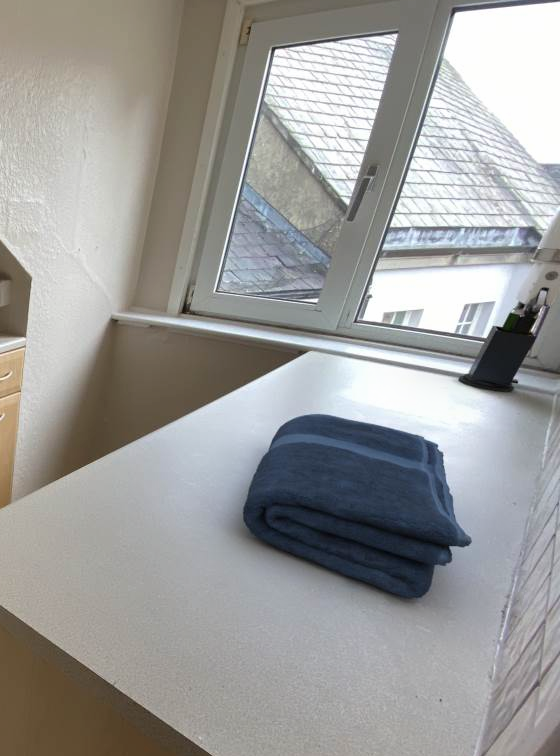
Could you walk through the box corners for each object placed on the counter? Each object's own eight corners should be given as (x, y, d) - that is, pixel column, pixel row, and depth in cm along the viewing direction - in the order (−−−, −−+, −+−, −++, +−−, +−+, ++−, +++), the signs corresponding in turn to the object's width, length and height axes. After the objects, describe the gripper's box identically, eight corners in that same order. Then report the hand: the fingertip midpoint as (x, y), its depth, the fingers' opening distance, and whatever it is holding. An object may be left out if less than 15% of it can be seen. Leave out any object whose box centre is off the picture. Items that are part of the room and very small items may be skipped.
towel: (427, 483, 96) (455, 429, 91) (440, 615, 65) (484, 545, 61) (273, 441, 109) (291, 393, 104) (225, 536, 78) (248, 474, 74)
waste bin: (462, 373, 154) (487, 324, 147) (512, 382, 148) (540, 331, 142) (464, 381, 147) (491, 330, 141) (516, 391, 141) (547, 338, 135)
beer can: (482, 352, 147) (505, 307, 141) (503, 353, 146) (527, 308, 141) (501, 358, 142) (525, 311, 136) (522, 359, 142) (547, 312, 136)
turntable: (507, 384, 149) (508, 381, 149) (517, 395, 141) (519, 392, 141) (455, 375, 155) (456, 372, 154) (461, 385, 147) (463, 382, 146)
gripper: (589, 262, 125) (545, 340, 133) (565, 255, 138) (526, 327, 146) (543, 258, 129) (503, 334, 137) (524, 252, 141) (489, 322, 149)
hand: (516, 330), depth 141 cm, fingers closed on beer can, 5 cm apart
